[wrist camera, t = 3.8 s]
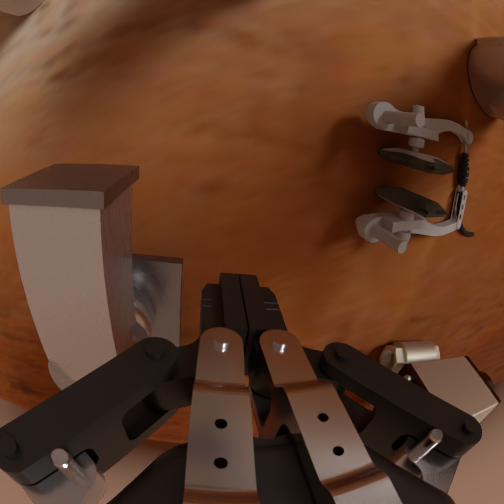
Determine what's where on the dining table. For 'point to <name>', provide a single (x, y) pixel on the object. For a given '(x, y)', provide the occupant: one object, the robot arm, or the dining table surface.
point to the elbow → (77, 262)
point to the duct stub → (158, 295)
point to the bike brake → (409, 202)
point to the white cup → (19, 6)
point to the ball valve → (443, 376)
